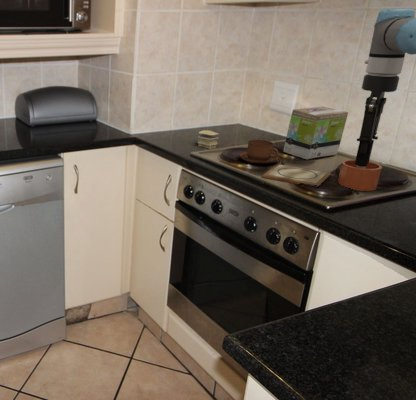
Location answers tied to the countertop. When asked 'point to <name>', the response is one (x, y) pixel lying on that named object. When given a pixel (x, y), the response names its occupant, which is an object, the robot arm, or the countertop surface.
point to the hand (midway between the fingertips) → (361, 163)
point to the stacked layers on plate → (207, 139)
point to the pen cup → (359, 176)
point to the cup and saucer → (260, 152)
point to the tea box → (315, 132)
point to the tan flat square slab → (296, 175)
